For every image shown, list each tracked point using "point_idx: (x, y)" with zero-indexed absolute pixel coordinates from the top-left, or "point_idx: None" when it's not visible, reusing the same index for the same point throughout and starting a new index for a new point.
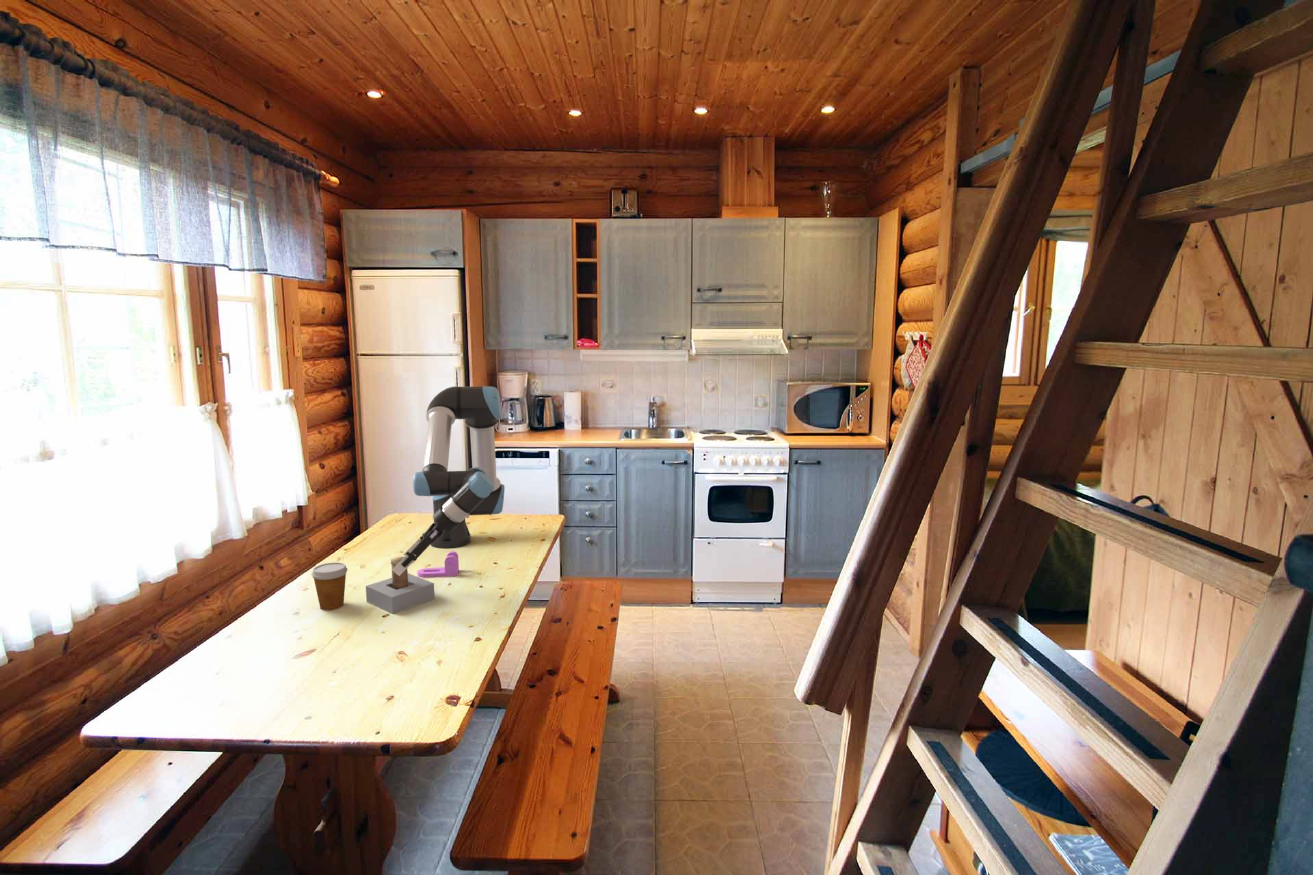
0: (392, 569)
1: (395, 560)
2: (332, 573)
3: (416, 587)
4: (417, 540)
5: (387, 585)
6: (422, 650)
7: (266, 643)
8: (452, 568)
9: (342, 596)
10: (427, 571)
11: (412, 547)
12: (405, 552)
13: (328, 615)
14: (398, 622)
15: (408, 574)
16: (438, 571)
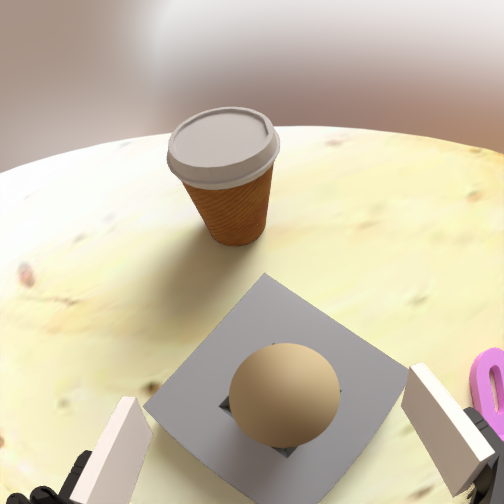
0: (126, 398)
1: (257, 380)
2: (172, 161)
3: (244, 476)
4: (475, 458)
5: None
6: (6, 477)
7: (79, 199)
8: None
9: (227, 231)
10: (497, 373)
11: (442, 420)
12: (417, 377)
13: (176, 239)
14: None
15: (398, 384)
16: (494, 414)
